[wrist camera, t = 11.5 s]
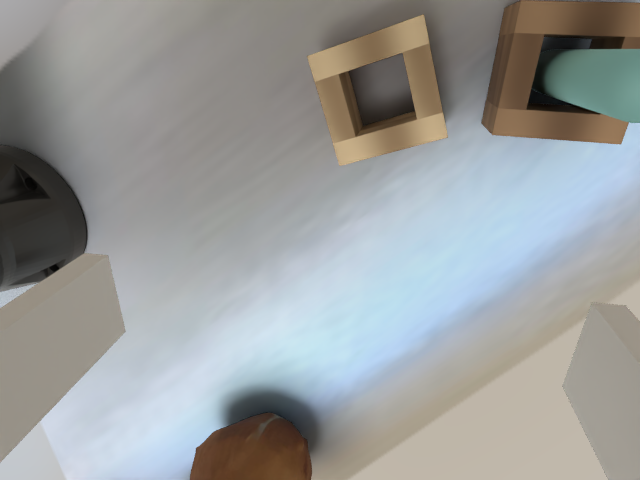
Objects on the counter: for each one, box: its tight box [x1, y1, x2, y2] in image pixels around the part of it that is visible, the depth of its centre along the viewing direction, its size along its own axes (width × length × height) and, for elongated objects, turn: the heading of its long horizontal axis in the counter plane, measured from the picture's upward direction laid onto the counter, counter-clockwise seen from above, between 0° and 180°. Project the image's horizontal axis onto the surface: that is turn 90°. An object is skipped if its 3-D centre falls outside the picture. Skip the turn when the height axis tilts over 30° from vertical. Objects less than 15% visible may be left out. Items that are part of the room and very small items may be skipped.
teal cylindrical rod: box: [532, 49, 640, 123], centre depth 24 cm, size 3×3×14 cm
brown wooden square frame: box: [482, 0, 640, 144], centre depth 28 cm, size 8×8×5 cm
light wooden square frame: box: [307, 14, 448, 166], centre depth 31 cm, size 8×8×5 cm
